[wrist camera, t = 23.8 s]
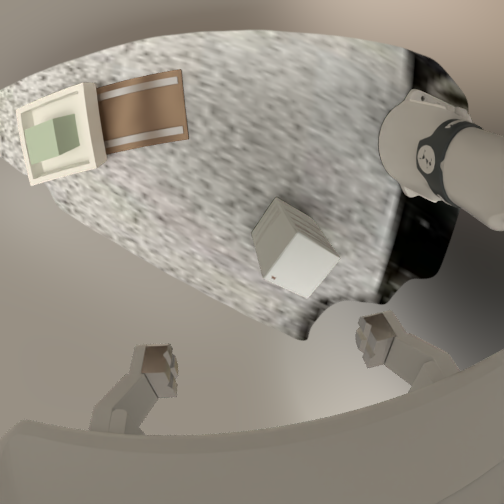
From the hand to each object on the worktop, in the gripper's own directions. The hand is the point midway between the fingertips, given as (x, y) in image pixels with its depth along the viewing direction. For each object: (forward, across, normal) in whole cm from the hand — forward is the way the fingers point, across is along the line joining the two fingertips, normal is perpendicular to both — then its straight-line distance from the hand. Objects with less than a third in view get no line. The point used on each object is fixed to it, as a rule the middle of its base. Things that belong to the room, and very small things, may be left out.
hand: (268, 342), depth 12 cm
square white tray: (+32, +22, -9) cm, 39 cm away
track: (+33, +16, -9) cm, 38 cm away
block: (+28, +22, -9) cm, 37 cm away
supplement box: (+33, -7, +11) cm, 36 cm away
